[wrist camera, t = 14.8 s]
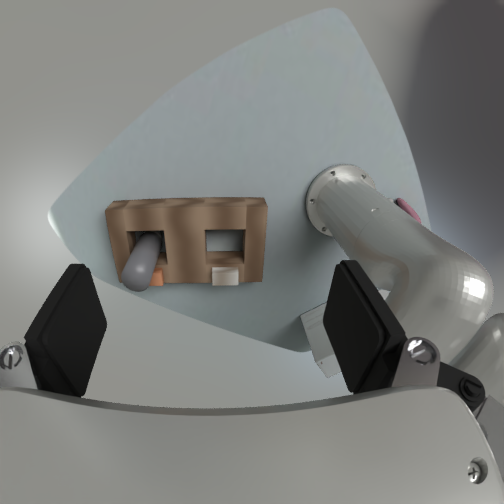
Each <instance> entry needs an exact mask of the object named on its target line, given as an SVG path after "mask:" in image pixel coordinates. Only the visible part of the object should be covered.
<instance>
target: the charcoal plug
mask: <svg viewBox="0 0 504 504" xmlns="http://www.w3.org/2000/svg"><path fill="white" fill-rule="evenodd" d="M161 248H162V235H161V233H160V231H159V230H154V231H145V232H144V233H142V234H141V235H140V237H139V239H138V241H137V243H136V245H135V247H134V249H133V251H132V253H131V255H130V257H129V259H128V261H127V263H126V265H125V267H124V269H123V271H122V274H121V280H122V282H123V284H124V285H125V286H126V287H127V288H128V289H130V290H132V291H136V292H140V291H144V290H146V289H147V288H148V286H149V284H150V281H151V278H152V275H153V272H154V269H155V266H156V262H157V259H158V257H159V254H160V251H161Z"/></svg>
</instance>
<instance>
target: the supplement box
mask: <svg viewBox="0 0 504 504" xmlns="http://www.w3.org/2000/svg"><path fill="white" fill-rule="evenodd" d="M326 304H327V302H326V303H324V304H322V305H320V306H318V307H316V308H314V309H312V310H310V311H308V312H306V313H304V314H302V315H300V318H301V321H302V323H303V326H304V329H305V332H306V335H307V338H308V341H309V344H310V347H311V350H312V353H313V356H314V359H315V362H316V363H317V365H318V366H319V367H320V369H321V370H322V371H323V373H324V374H325V376H326V377H327V378H328V377H331V376H333V375H335V374H337V373H340V372H341V369H340V366H339V364H338V361H337V359H336V356H335V353H334V351H333V348H332V346H331V343H330V341H329V338H328V336H327V333H326V331H325V328H324V325H323V315H324V311H325V307H326Z"/></svg>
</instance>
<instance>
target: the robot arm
mask: <svg viewBox="0 0 504 504" xmlns="http://www.w3.org/2000/svg"><path fill="white" fill-rule="evenodd" d="M331 171H332V173H330V172H331ZM311 199H312V201H310V200H311ZM306 210H307V215H308V217H309V219H310V221H311V222H312V224H313V225H314V227H315V228H316V229H317V230H318V231H320V232H321V233H323V234H325V235H328V236H332V237H334V238H335V239H336V241H337V242H338V243H339V245H340V246H341V248H342V249H343V250H344V252H345V253H346V255H347V256H348V257H349V259H350V260H342V261H341V262H340V264H337V265H336V267H335V271H334V275H333V279H332V284H331V288H330V292H329V296H328V300H327V304H326V307H325V311H324V315H323V325H324V328H325V331H326V333H327V336H328V338H329V341H330V343H331V346H332V348H333V351H334V353H335V356H336V359H337V361H338V364H339V366H340V369H341V372H342V374H343V377H344V379H345V382H346V385H347V388H348V390H349V391H350V392H353V393H354V394H353V395H348V396H342V397H336V398H329V399H323V400H317V401H310V402H302V403H294V404H285V405H274V406H262V407H245V408H216V409H215V408H214V409H199V408H165V407H150V406H139V405H128V404H120V403H112V402H104V401H97V400H91V399H85V398H81V396H83V395H84V394H85V392H86V388H87V385H88V382H89V379H90V375H91V372H92V369H93V366H94V363H95V360H96V357H97V353H98V351H99V348H100V345H101V342H102V339H103V337H104V334H105V331H106V328H107V321H106V318H105V315H104V312H103V310H102V306H101V304H100V301H99V298H98V295H97V291H96V288H95V285H94V282H93V279H92V275H91V272H90V269H89V268H86V266H85V265H84V264H70V265H69V266H68V268H67V269H66V271H65V272H64V274H63V275H62V276H61V278H60V279H59V281H58V282H57V284H56V286H55V287H54V288H53V290H52V291H51V293H50V294H49V296H48V298H47V299H46V301H45V302H44V304H43V306H42V307H41V309H40V310H39V312H38V314H37V315H36V317H35V319H34V320H33V322H32V324H31V326H30V327H29V329H28V331H27V333H26V334H25V336H24V338H25V340H26V343H25V345H23V344H22V343H20V342H11V343H8V344H7V345H5V346H4V347H3V348H2V349H1V350H0V504H504V313H498V314H495V315H493V316H492V317H490V318H489V319H488V320H487V321H485V319H486V317H487V315H488V313H489V311H490V308H491V305H492V301H493V295H494V291H493V284H492V280H491V277H490V275H489V274H488V272H487V271H486V269H485V268H484V267H483V266H482V265H481V264H480V263H479V262H478V261H477V260H476V259H474V258H473V257H472V256H470V255H469V254H467V253H466V252H464V251H462V250H461V249H459V248H457V247H456V246H454V245H452V244H450V243H449V242H447V241H445V240H443V239H442V238H440V237H439V236H437V235H436V234H434V233H433V232H431V231H430V230H429V229H427V228H426V227H425V226H423V225H422V224H420V223H419V222H418V221H417V220H415V219H414V218H413V217H411V216H410V215H409V214H408V213H406V212H405V211H404V210H402V209H401V208H400V207H398V206H397V205H396V204H394V203H393V199H391V198H386V197H385V196H383V195H382V194H381V193H379V192H378V191H376V187H375V184H374V182H373V180H372V178H371V177H370V176H369V175H368V174H367V173H366V172H365V171H364V170H362V169H360V168H359V167H356V166H353V165H349V164H339V165H335V166H332V167H329V168H327V169H326V170H324V171H323V172H321V173H320V174H319V175H318V176H317V177H316V178H315V179H314V181H313V182H312V184H311V186H310V187H309V190H308V193H307V197H306ZM377 288H378V289H382V290H387V291H391V292H390V293H389V295H388V296H387V298H386V299H385V300H384V299H383V297H382V296H381V294H380V293H379V291H378V290H377ZM484 321H485V322H484ZM483 322H484V323H483Z"/></svg>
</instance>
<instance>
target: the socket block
mask: <svg viewBox="0 0 504 504" xmlns="http://www.w3.org/2000/svg"><path fill="white" fill-rule="evenodd" d="M267 211H268V206H267V204H266V202H265V199H264V198H254V197H212V198H167V199H142V200H123V201H113V202H112V203H111V204H110V205H109V207H108V208H107V209H106V210H105V214H106V220H107V226H108V231H109V237H110V242H111V247H112V251H113V256H114V260H115V265H116V269H117V273H118V277H119V281H120V283H123V282H122V280H121V274H122V271H123V269H124V267H125V265H126V263H127V261H128V259H129V257H130V255H131V253H132V251H133V249H134V247H135V245H136V237H135V231H154V230H164V235H165V244H166V252H160V254H159V257H158V259H157V262H156V266H155V269H154V272H153V275H152V278H151V281H150V284H149V286H163V283H213V286H217V285H238V282H262V276H263V264H264V251H265V238H266V224H267ZM212 229H243V251H214V252H207V245H206V230H212Z"/></svg>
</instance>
